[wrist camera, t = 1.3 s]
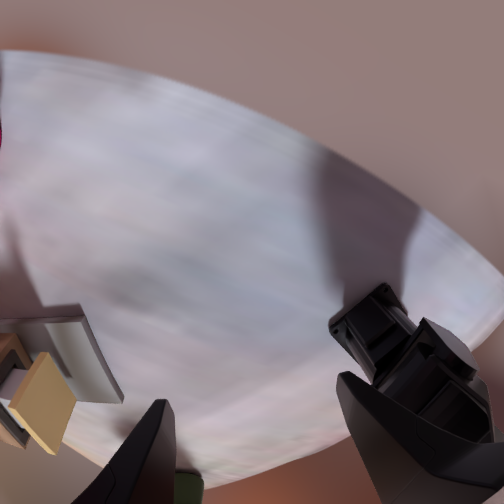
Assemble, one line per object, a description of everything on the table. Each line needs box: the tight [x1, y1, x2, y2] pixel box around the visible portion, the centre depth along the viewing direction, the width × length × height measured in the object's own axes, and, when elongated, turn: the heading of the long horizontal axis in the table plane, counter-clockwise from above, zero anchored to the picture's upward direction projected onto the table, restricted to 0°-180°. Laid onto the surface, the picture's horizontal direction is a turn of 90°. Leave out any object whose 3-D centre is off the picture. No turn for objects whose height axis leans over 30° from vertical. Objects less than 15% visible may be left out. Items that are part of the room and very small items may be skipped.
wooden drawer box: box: [0, 315, 124, 449], centre depth 17 cm, size 18×10×9 cm, turn 95°
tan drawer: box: [0, 352, 77, 455], centre depth 16 cm, size 11×6×7 cm, turn 95°
